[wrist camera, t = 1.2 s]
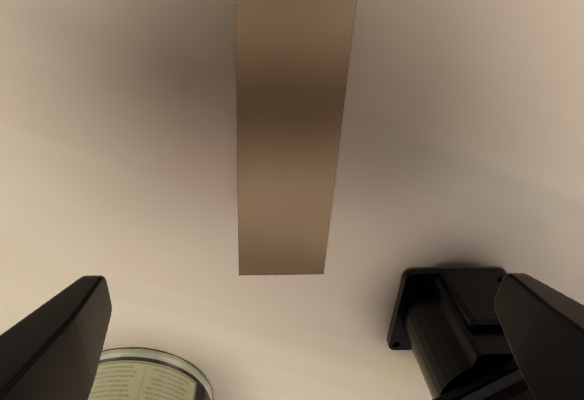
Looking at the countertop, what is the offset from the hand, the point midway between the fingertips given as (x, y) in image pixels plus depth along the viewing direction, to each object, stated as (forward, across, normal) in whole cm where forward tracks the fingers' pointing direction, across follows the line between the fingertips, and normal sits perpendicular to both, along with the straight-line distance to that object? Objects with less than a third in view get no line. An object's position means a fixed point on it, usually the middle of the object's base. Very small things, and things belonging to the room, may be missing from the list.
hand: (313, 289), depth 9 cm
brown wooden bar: (+11, 0, -3) cm, 12 cm away
